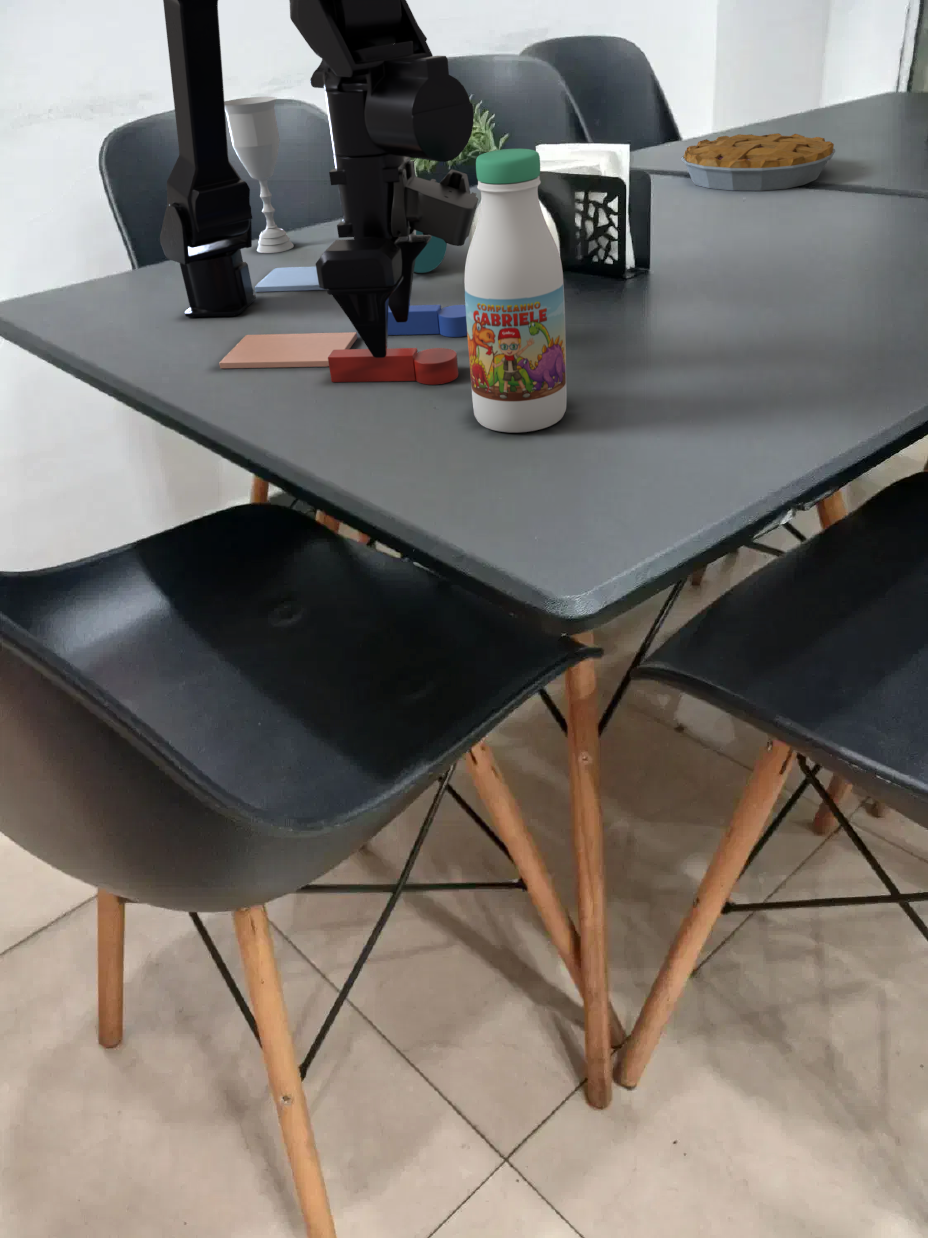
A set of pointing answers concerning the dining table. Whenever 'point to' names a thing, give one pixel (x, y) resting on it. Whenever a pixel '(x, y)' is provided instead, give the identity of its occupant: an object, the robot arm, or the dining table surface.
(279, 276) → the mat blue
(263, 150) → the chalice
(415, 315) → the blue bar with disc
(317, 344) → the pink flat board
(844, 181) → the dining table surface
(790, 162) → the pie
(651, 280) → the dining table surface
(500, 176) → the milk bottle
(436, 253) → the beverage bottle
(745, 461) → the dining table surface
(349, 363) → the red bar with disc
